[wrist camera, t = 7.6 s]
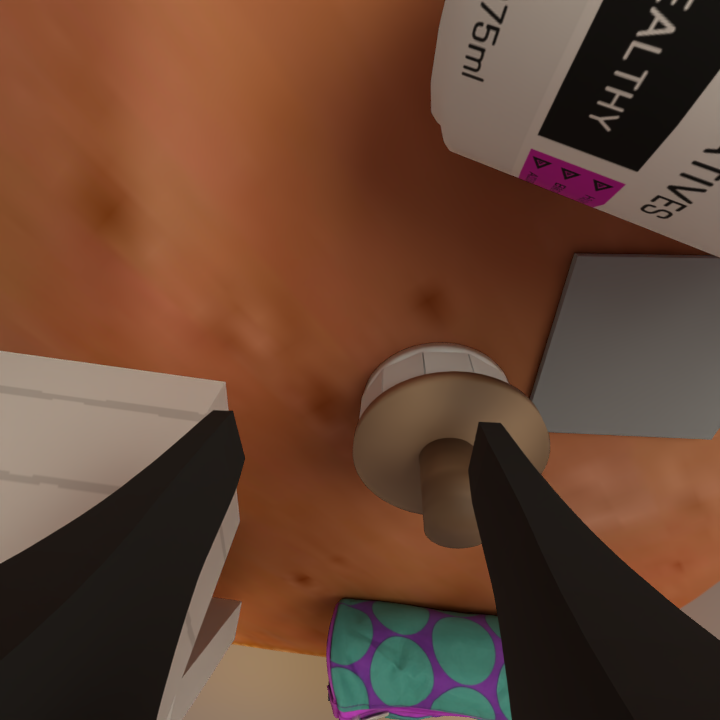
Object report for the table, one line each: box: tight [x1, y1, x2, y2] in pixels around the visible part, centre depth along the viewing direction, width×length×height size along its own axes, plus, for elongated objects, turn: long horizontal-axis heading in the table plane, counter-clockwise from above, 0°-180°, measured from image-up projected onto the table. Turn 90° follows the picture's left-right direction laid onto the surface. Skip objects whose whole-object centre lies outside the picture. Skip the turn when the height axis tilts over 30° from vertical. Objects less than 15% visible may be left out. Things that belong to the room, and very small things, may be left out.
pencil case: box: [327, 599, 512, 720], centre depth 35 cm, size 21×9×10 cm, turn 89°
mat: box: [530, 253, 720, 439], centre depth 20 cm, size 11×11×1 cm
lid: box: [353, 371, 550, 548], centre depth 19 cm, size 10×10×5 cm
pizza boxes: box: [0, 351, 242, 720], centre depth 23 cm, size 19×30×18 cm, turn 173°
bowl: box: [359, 342, 509, 419], centre depth 22 cm, size 9×9×4 cm
